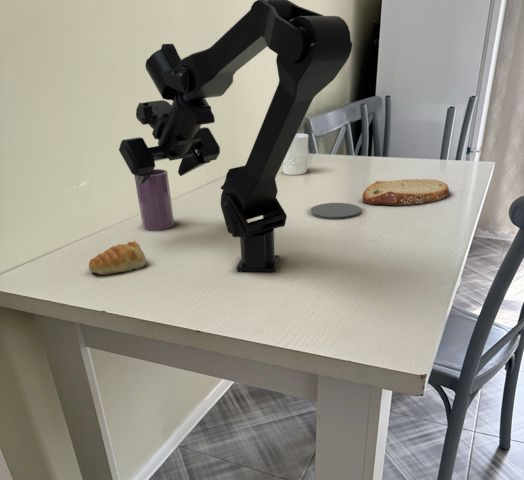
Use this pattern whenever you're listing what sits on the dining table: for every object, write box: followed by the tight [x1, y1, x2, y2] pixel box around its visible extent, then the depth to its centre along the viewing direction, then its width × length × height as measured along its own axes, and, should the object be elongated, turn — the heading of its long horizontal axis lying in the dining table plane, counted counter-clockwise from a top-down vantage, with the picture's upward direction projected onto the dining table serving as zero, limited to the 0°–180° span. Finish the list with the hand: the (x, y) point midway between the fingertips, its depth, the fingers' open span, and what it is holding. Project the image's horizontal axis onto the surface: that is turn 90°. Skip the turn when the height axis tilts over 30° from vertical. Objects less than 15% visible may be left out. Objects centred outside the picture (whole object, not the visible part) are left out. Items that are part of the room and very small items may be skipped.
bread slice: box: [362, 178, 450, 207], centre depth 119 cm, size 18×18×4 cm
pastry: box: [88, 240, 147, 276], centre depth 88 cm, size 9×7×4 cm
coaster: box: [310, 202, 362, 220], centre depth 112 cm, size 11×11×1 cm
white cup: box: [282, 133, 310, 176], centre depth 145 cm, size 8×8×10 cm
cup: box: [133, 168, 175, 232], centre depth 106 cm, size 7×7×11 cm
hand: (160, 178), depth 101 cm, fingers open, 9 cm apart
